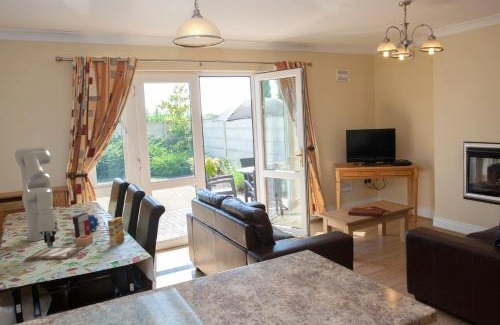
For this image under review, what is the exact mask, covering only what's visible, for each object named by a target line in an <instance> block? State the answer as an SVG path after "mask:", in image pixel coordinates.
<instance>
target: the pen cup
mask: <svg viewBox="0 0 500 325" xmlns="http://www.w3.org/2000/svg"><path fill="white" fill-rule="evenodd" d="M74 241H75V247H88V246H90V245H92V244H93V243H94V239H93V235H92V234H90V235H86V236H80V237H78V238H76V237H75V239H74Z"/></svg>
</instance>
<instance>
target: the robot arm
mask: <svg viewBox="0 0 500 325" xmlns="http://www.w3.org/2000/svg"><path fill="white" fill-rule="evenodd" d="M14 158H15V161H16V163H17V164H18V167H19V169H20V172H21V174H20V175H21V179H22V193H23V194H22V198H21V199H22V203H23V207H24V210H25V216H26V219H25V220H26V225H27V232H24V233H23V237H26V241H27V242H38V241H42V240H43V241H44V244H47V238H46V231H50V235H51V236H50V242H51V243H53V244H54V242H56V238H55V236H56V234H57V233H58V232H60V228H59V225H58V219H57V215H56V213H55V211H54V204H53V202H54V201H53V200H54V194H53V187H52V180H51V176H50V174H48V173H47V172H44V168H43V165H49V164H51V161H52V156H51V153H50V151H48V149H47V148H45V146H36V147H24V148H19V149H16V150H15V151H14Z"/></svg>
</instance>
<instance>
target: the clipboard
mask: <svg viewBox="0 0 500 325" xmlns="http://www.w3.org/2000/svg"><path fill="white" fill-rule="evenodd" d="M85 247H86V246H53V247H52V248H48V247H44V248H42V249H40V250H38V251H37V252H35V253H33V254H31V255H30V256H28V257H26V258H25V260H26V261H45V260H46V261H48V260H52V261H53V260H55V261H56V260H68V259H70V258H71V257H73V256H75V255H76V254H78V253H79V252H81V251H82V249H83V250H84V249H85Z"/></svg>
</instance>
